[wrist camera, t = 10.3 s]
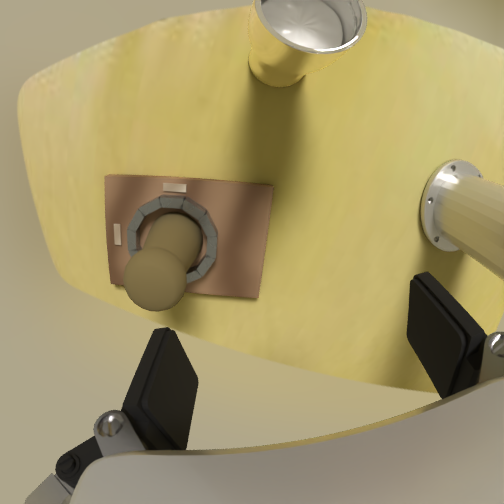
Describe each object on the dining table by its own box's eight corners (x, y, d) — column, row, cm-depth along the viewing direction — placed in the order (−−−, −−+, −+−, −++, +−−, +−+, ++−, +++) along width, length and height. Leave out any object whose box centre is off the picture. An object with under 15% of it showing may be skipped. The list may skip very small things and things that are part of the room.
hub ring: (220, 198, 30) (220, 201, 28) (214, 281, 33) (213, 288, 32) (131, 192, 29) (126, 195, 27) (133, 274, 33) (129, 280, 31)
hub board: (272, 185, 31) (274, 187, 29) (257, 292, 36) (258, 298, 34) (109, 174, 29) (103, 176, 28) (114, 279, 34) (110, 284, 33)
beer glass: (324, 67, 26) (392, 26, 12) (274, 104, 27) (309, 80, 13) (281, 21, 23) (315, -51, 10) (229, 57, 25) (224, -4, 11)
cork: (213, 250, 32) (203, 308, 22) (166, 272, 33) (140, 332, 22) (186, 201, 30) (161, 239, 20) (139, 226, 30) (98, 272, 20)
